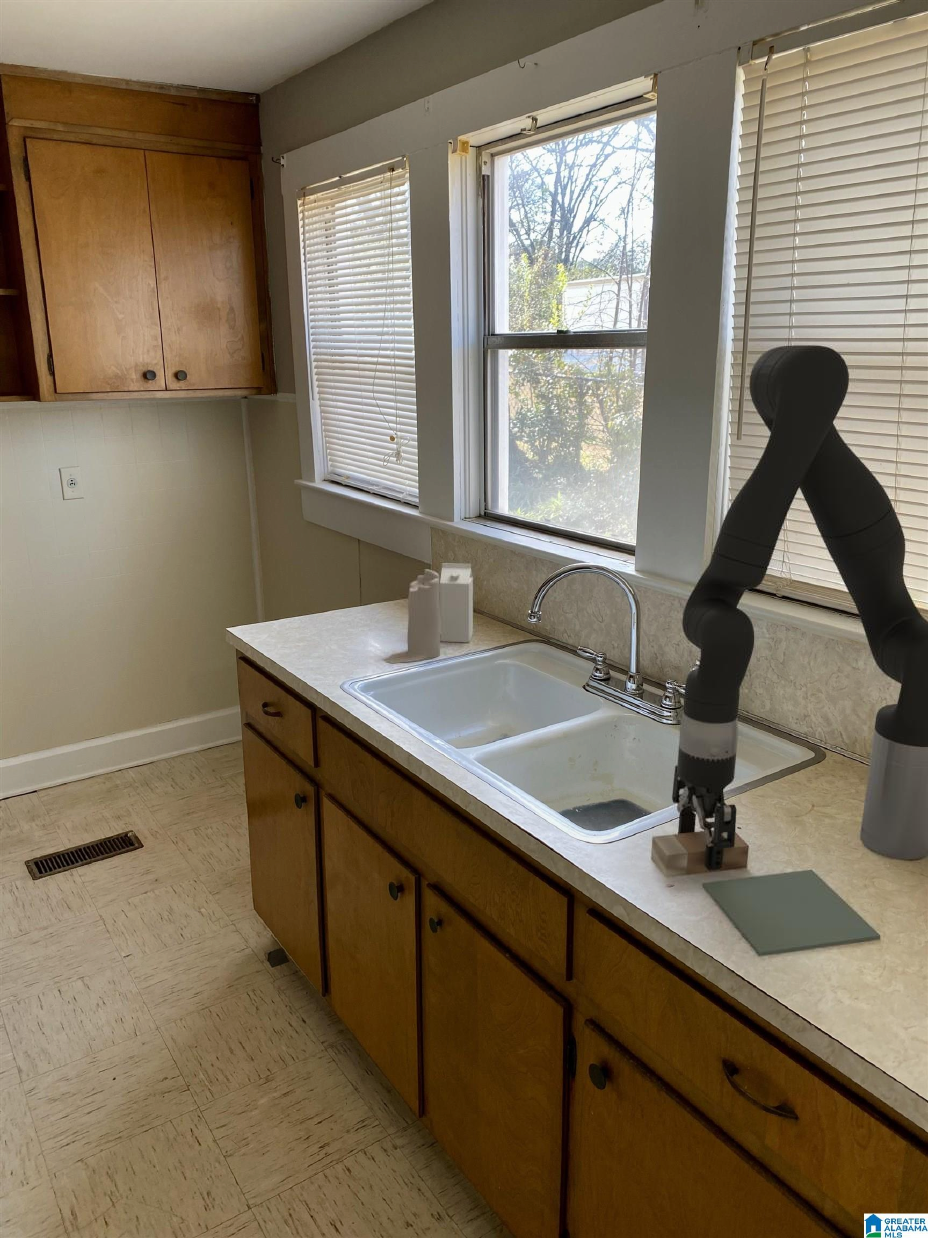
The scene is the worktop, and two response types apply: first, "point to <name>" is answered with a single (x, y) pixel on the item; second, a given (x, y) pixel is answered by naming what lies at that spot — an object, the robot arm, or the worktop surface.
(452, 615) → the milk carton
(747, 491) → the robot arm
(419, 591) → the candle
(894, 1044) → the worktop surface
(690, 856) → the stepped wooden block
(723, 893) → the sage mat
